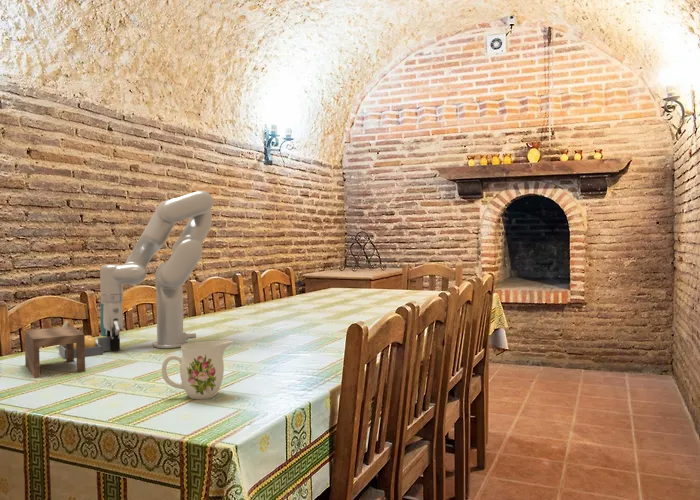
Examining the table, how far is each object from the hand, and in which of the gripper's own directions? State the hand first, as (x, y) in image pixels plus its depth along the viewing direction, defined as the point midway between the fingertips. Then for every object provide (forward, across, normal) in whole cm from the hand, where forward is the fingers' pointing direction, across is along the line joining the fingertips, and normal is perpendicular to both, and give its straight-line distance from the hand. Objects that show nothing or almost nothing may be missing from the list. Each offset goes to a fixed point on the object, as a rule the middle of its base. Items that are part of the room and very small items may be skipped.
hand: (112, 348), depth 217 cm
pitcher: (+1, -77, -3) cm, 77 cm away
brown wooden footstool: (+1, -19, +22) cm, 29 cm away
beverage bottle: (+1, +27, -5) cm, 27 cm away
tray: (+1, 0, +7) cm, 7 cm away
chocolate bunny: (+1, +20, +12) cm, 23 cm away
